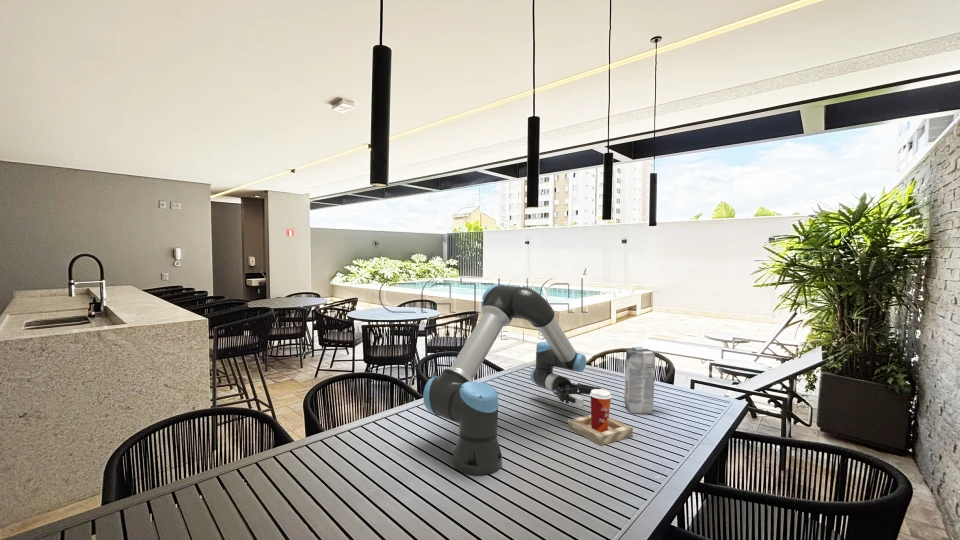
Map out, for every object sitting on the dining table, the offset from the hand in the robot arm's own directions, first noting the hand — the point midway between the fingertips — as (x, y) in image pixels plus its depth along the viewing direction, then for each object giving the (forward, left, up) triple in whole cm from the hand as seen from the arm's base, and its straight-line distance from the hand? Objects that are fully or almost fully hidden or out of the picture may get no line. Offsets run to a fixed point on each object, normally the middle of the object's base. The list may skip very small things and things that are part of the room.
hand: (596, 400), depth 152 cm
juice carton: (+31, +5, -11) cm, 33 cm away
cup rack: (0, -3, -11) cm, 11 cm away
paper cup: (0, -2, -10) cm, 10 cm away
